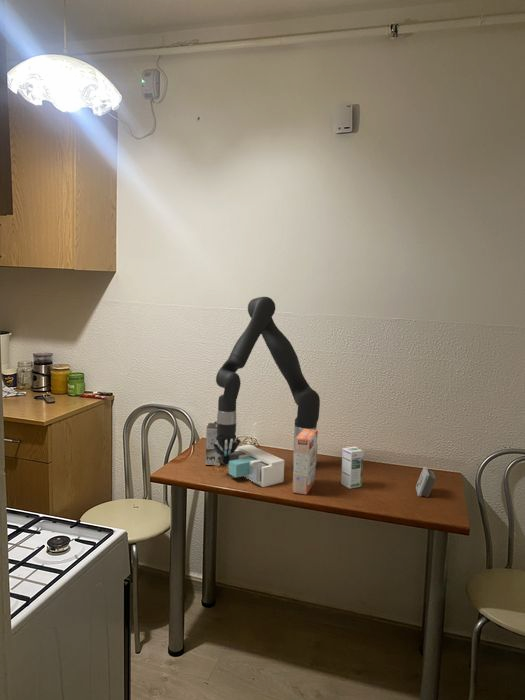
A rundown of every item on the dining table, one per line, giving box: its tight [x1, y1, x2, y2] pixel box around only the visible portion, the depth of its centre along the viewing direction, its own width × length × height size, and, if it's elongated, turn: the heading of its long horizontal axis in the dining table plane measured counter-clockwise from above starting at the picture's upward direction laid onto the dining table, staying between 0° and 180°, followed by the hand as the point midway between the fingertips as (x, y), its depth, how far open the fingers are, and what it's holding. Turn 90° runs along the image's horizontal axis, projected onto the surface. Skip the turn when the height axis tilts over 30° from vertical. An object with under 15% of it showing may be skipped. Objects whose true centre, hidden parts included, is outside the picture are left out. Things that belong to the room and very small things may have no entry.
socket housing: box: [234, 444, 285, 488], centre depth 204 cm, size 10×23×9 cm, turn 37°
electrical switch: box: [415, 466, 437, 498], centre depth 192 cm, size 9×5×9 cm, turn 169°
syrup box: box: [340, 446, 364, 489], centre depth 197 cm, size 6×6×14 cm
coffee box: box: [205, 422, 222, 466], centre depth 216 cm, size 9×6×16 cm
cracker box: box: [291, 429, 319, 496], centre depth 192 cm, size 14×6×21 cm, turn 163°
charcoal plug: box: [226, 451, 245, 468], centre depth 209 cm, size 10×5×5 cm, turn 128°
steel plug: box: [248, 462, 269, 482], centre depth 197 cm, size 10×5×5 cm, turn 128°
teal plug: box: [228, 457, 256, 478], centre depth 200 cm, size 10×5×5 cm, turn 127°
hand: (225, 464), depth 204 cm, fingers closed
